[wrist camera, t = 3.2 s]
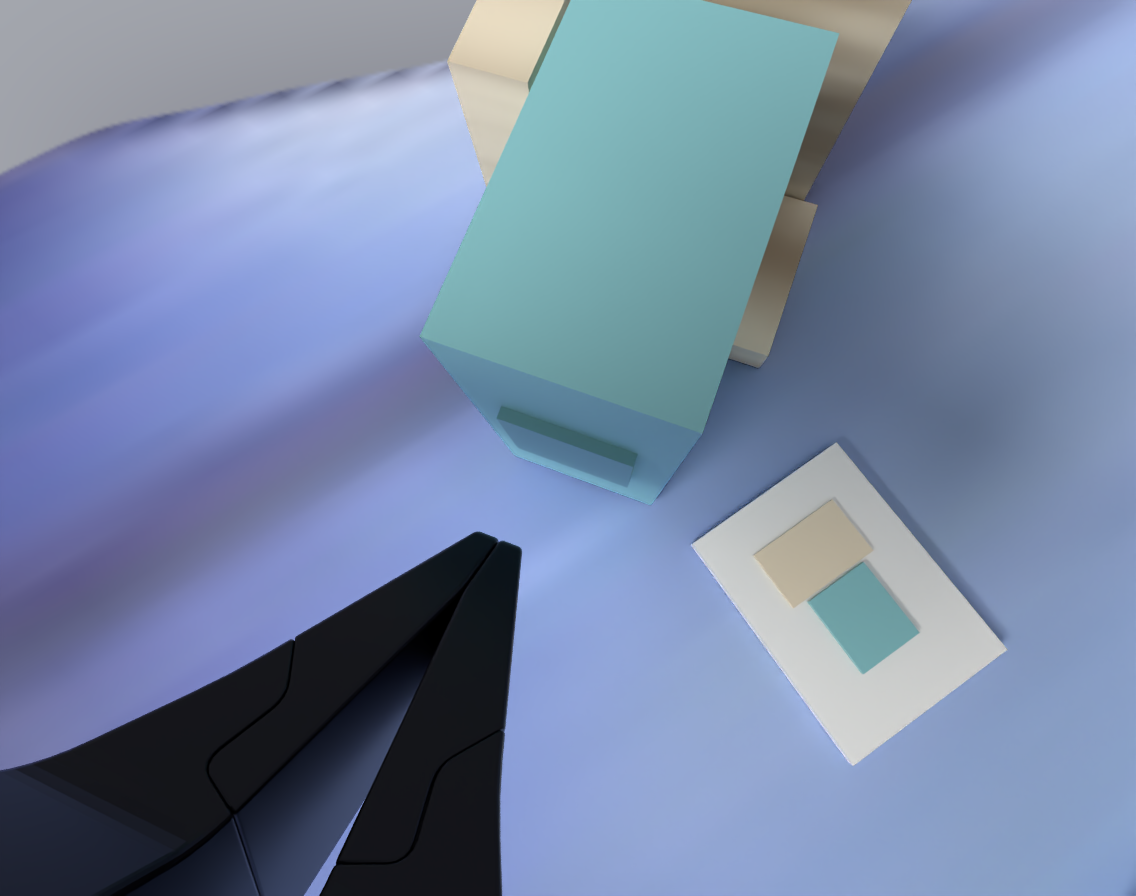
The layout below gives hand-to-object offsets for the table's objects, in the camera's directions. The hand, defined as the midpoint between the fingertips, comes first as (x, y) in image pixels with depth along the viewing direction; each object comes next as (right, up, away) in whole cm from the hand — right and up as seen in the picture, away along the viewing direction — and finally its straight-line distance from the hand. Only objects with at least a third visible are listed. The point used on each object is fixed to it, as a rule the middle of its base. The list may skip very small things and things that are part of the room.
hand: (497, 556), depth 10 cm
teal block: (+3, +4, +11) cm, 12 cm away
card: (+10, -3, +9) cm, 14 cm away
